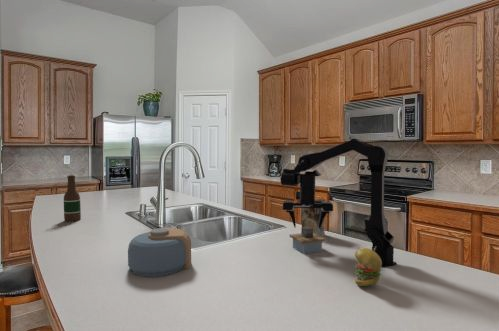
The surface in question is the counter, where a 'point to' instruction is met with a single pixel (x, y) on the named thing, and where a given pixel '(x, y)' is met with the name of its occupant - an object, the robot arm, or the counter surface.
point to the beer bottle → (72, 202)
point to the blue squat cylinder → (159, 252)
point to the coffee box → (313, 219)
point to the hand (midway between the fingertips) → (307, 227)
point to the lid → (307, 236)
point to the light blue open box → (307, 246)
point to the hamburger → (367, 267)
